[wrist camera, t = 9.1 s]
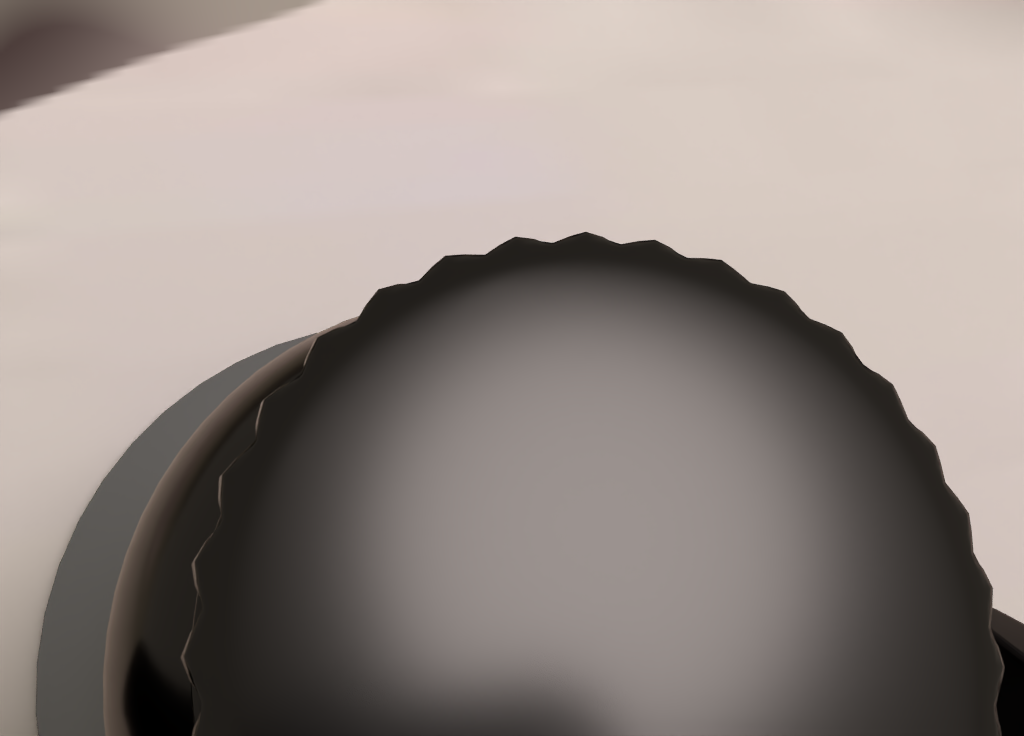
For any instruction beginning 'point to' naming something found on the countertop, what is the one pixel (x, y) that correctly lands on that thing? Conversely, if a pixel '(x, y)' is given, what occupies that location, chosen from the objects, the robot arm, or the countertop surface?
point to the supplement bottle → (557, 525)
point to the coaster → (113, 558)
